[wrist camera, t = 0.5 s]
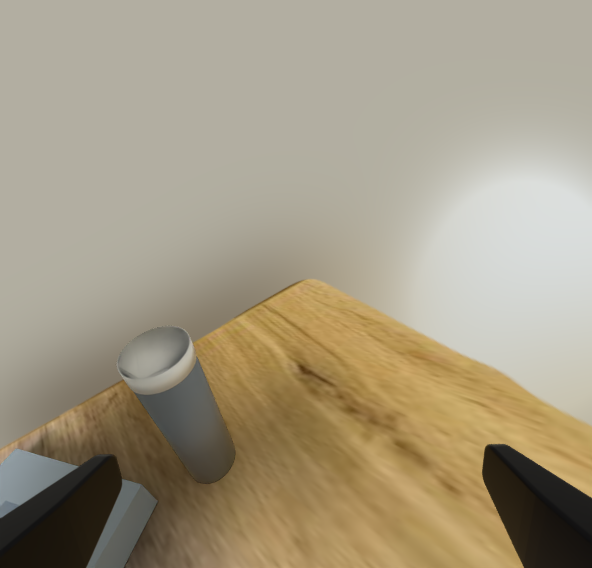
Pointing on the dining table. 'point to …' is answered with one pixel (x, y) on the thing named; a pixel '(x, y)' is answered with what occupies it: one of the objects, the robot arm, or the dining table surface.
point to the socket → (45, 471)
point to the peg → (179, 400)
